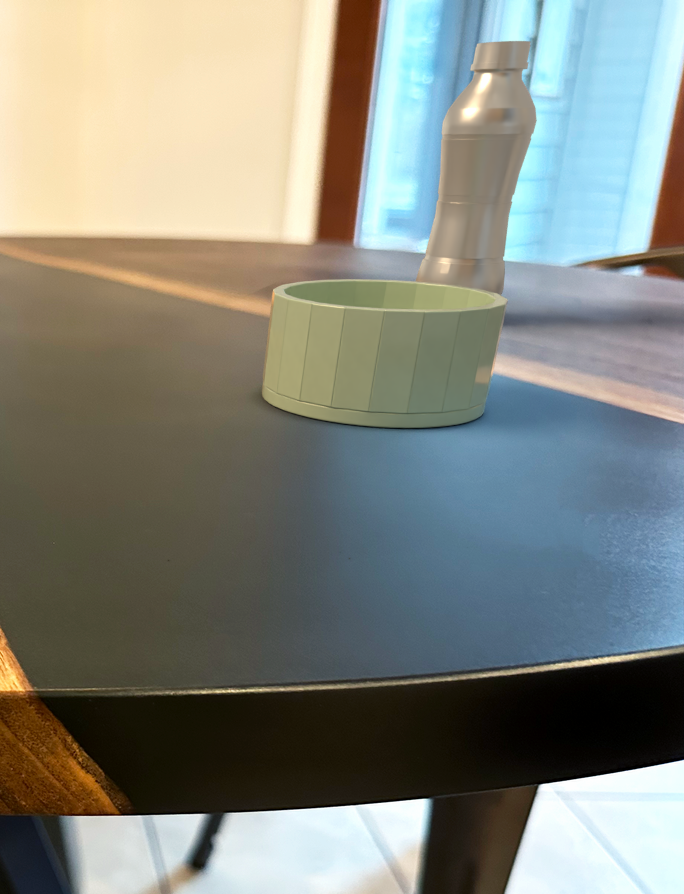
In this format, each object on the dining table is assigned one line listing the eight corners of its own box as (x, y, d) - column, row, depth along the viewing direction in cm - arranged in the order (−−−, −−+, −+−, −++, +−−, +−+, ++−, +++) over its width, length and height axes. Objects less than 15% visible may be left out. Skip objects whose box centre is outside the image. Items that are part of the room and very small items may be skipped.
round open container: (416, 375, 64) (433, 277, 62) (530, 425, 53) (557, 308, 51) (232, 380, 63) (243, 281, 61) (311, 431, 52) (327, 313, 50)
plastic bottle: (500, 316, 83) (556, 43, 75) (492, 329, 78) (551, 37, 70) (416, 310, 86) (461, 47, 79) (402, 322, 81) (449, 42, 73)
